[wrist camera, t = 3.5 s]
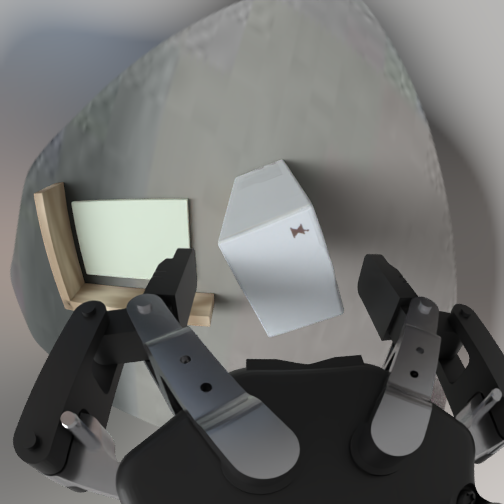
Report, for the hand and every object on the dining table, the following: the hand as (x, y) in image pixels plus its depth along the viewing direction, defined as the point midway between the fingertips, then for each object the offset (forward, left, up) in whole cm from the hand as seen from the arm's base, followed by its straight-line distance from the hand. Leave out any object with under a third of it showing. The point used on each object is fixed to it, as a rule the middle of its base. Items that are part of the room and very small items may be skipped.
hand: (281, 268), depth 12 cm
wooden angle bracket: (+13, +4, -11) cm, 17 cm away
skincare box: (0, 0, -11) cm, 11 cm away
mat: (+13, +4, -11) cm, 17 cm away
